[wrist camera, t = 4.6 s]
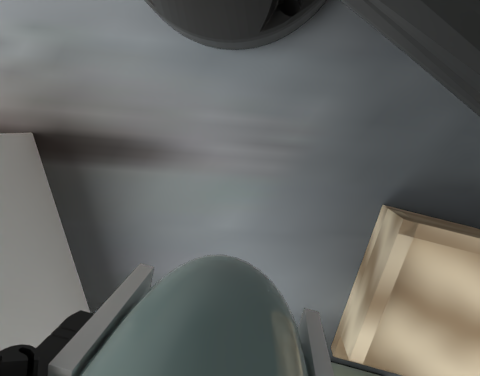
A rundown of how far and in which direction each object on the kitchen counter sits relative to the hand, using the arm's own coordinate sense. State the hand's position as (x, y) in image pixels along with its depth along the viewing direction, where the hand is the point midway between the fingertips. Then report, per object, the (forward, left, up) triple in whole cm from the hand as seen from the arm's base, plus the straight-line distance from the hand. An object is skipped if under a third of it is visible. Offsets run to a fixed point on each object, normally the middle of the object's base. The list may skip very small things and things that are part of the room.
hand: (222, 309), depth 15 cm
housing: (+1, +17, -9) cm, 19 cm away
